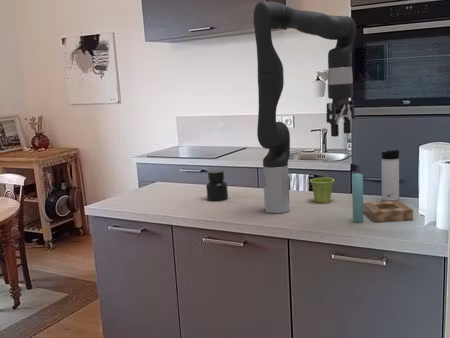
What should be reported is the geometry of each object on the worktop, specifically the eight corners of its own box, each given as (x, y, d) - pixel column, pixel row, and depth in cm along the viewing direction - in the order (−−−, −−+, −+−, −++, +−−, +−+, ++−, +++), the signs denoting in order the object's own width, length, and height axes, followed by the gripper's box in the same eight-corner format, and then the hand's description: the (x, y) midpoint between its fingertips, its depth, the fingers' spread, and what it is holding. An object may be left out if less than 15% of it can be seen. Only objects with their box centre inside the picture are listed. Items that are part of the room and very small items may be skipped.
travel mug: (391, 204, 183) (391, 151, 180) (378, 200, 189) (377, 149, 186) (403, 201, 186) (403, 149, 183) (390, 198, 192) (390, 147, 189)
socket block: (373, 222, 162) (373, 212, 161) (362, 212, 175) (362, 202, 174) (413, 220, 162) (413, 209, 161) (399, 210, 174) (399, 200, 174)
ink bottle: (218, 195, 216) (216, 168, 213) (232, 197, 209) (231, 170, 207) (202, 200, 209) (200, 172, 207) (216, 202, 203) (214, 174, 201)
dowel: (354, 223, 163) (353, 175, 160) (351, 220, 166) (350, 173, 163) (364, 222, 163) (363, 175, 160) (361, 219, 166) (361, 173, 163)
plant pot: (339, 202, 191) (339, 180, 190) (318, 205, 188) (318, 183, 186) (326, 197, 200) (325, 176, 198) (306, 200, 196) (305, 179, 195)
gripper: (340, 83, 143) (341, 137, 146) (361, 81, 154) (362, 132, 157) (318, 84, 148) (319, 137, 151) (339, 82, 159) (340, 132, 162)
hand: (341, 134), depth 154 cm, fingers open, 8 cm apart
